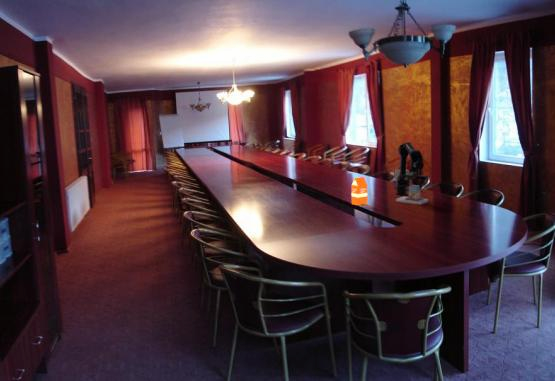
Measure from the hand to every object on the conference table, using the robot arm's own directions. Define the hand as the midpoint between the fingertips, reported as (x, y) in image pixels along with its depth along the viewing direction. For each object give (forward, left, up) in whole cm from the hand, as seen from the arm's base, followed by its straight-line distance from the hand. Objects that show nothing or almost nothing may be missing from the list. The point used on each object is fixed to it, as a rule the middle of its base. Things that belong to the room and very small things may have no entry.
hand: (414, 188), depth 354 cm
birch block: (0, 0, -8) cm, 8 cm away
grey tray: (-2, 0, -10) cm, 10 cm away
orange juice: (-30, -28, -10) cm, 42 cm away
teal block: (0, 0, -3) cm, 3 cm away
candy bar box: (-34, +43, -10) cm, 56 cm away
